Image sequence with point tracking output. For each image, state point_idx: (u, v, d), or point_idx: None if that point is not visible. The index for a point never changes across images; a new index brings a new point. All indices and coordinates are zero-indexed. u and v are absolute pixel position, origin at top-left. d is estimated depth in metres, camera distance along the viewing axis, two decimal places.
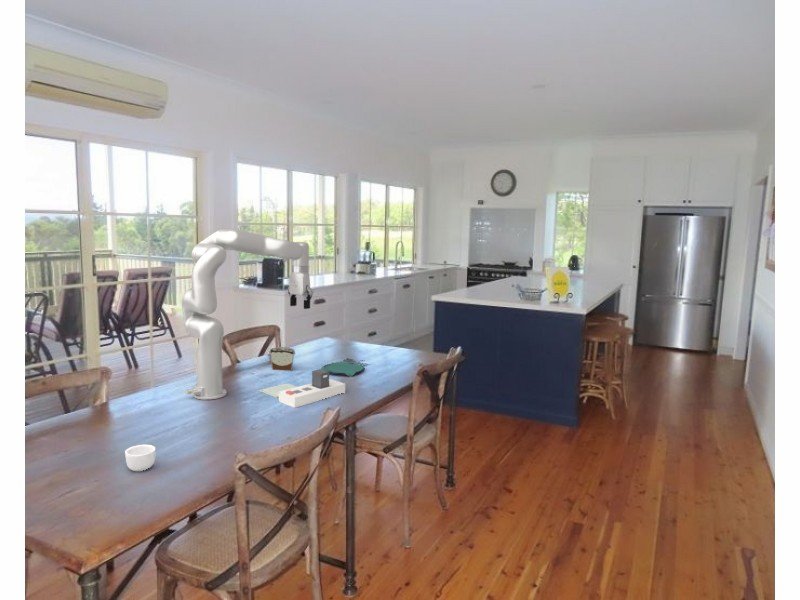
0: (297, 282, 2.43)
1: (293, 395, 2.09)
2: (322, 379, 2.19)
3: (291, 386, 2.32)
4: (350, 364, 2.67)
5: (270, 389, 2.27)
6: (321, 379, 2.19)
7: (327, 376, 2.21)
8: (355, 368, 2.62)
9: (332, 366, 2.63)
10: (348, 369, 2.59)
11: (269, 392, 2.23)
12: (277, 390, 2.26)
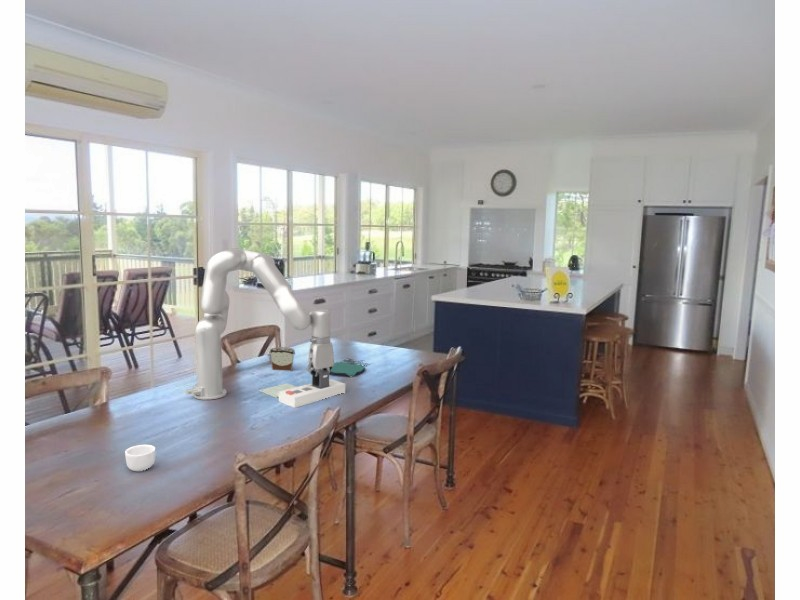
0: (328, 353, 2.20)
1: (293, 395, 2.09)
2: (322, 379, 2.19)
3: (291, 386, 2.32)
4: (350, 364, 2.67)
5: (270, 389, 2.27)
6: (321, 379, 2.19)
7: (327, 376, 2.21)
8: (356, 368, 2.61)
9: None
10: (349, 369, 2.59)
11: (269, 392, 2.23)
12: (277, 390, 2.26)
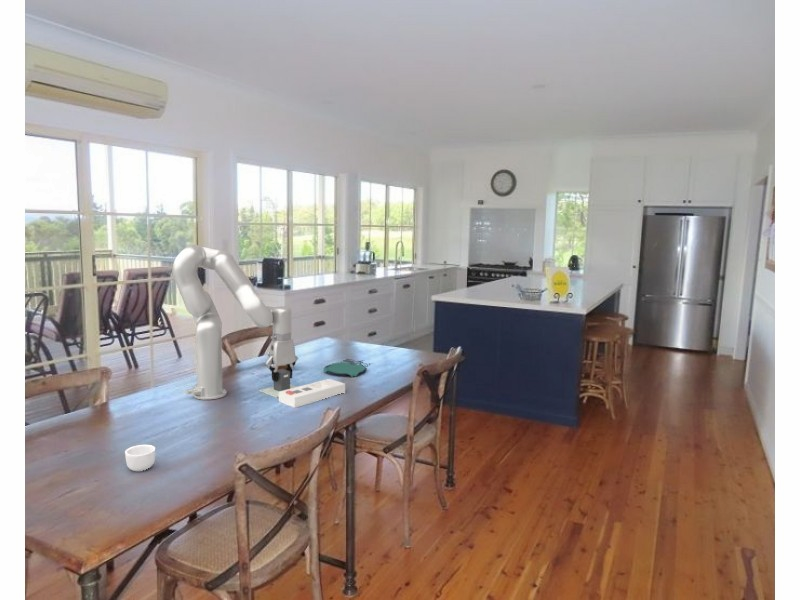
0: (289, 350, 2.24)
1: (293, 395, 2.09)
2: (283, 378, 2.23)
3: (291, 386, 2.32)
4: (351, 364, 2.67)
5: (270, 389, 2.27)
6: (282, 379, 2.23)
7: (288, 376, 2.25)
8: (357, 368, 2.61)
9: (333, 367, 2.62)
10: (350, 369, 2.59)
11: (269, 392, 2.23)
12: None
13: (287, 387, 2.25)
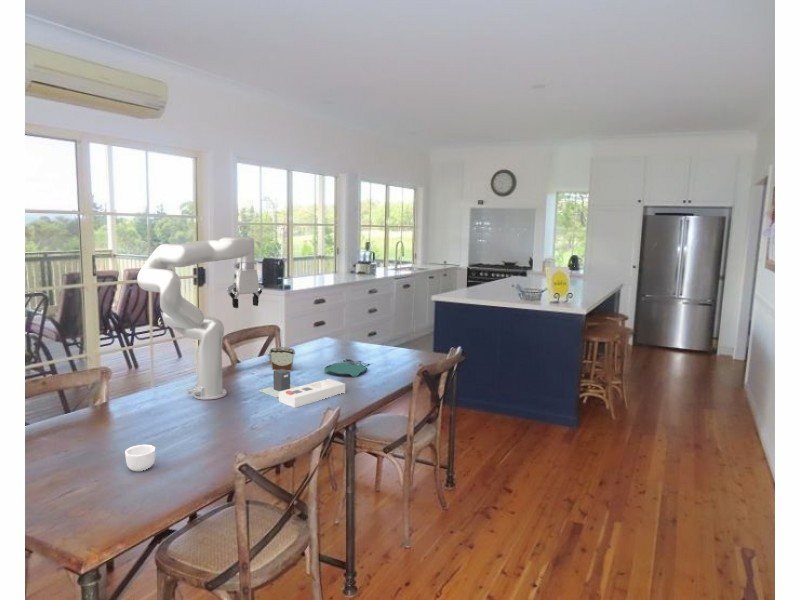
0: (252, 279, 2.30)
1: (293, 395, 2.09)
2: (283, 378, 2.23)
3: (291, 386, 2.32)
4: (351, 364, 2.67)
5: (270, 389, 2.27)
6: (282, 379, 2.23)
7: (288, 376, 2.25)
8: (357, 368, 2.61)
9: (334, 367, 2.62)
10: (351, 370, 2.58)
11: (269, 392, 2.23)
12: None
13: (287, 387, 2.25)
